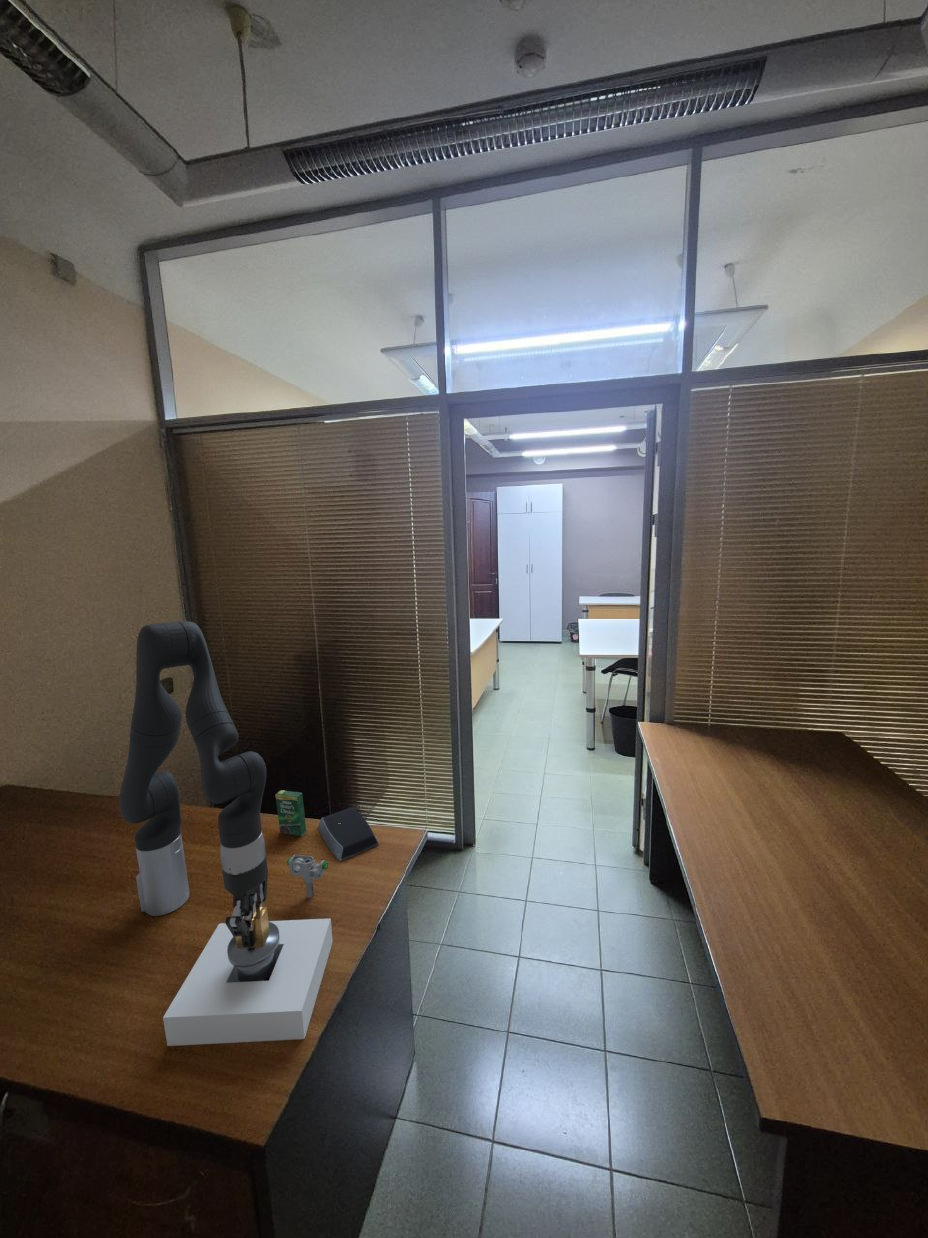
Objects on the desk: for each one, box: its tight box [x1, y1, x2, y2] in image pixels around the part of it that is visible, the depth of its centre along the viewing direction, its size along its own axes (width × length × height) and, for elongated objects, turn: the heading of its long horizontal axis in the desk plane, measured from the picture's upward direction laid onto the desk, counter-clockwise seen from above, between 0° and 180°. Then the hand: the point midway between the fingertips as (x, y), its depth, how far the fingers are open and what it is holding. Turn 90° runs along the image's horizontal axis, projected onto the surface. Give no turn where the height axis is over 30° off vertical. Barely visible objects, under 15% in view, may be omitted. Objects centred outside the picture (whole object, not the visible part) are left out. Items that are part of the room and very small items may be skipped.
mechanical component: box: [286, 854, 329, 899], centre depth 114 cm, size 3×10×10 cm, turn 78°
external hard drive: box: [317, 806, 379, 862], centre depth 138 cm, size 13×19×4 cm
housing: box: [162, 918, 333, 1047], centre depth 91 cm, size 24×20×6 cm
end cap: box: [227, 906, 280, 982], centre depth 90 cm, size 9×9×12 cm
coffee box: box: [275, 789, 307, 837], centre depth 139 cm, size 8×3×13 cm, turn 73°
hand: (253, 937), depth 89 cm, fingers closed on end cap, 3 cm apart
